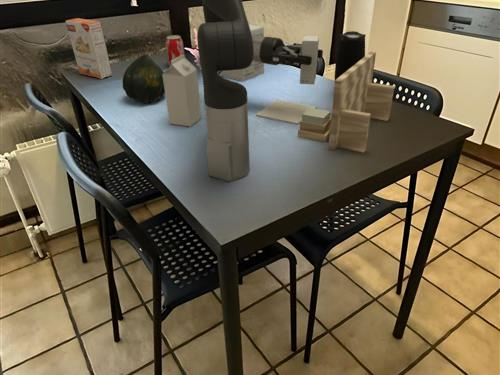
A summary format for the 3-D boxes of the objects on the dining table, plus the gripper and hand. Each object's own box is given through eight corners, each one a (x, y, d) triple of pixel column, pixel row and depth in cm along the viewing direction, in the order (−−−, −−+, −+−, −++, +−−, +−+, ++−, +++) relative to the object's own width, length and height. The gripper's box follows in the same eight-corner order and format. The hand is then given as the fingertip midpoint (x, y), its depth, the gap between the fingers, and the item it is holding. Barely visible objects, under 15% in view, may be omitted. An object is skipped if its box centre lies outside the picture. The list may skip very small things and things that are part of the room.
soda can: (178, 70, 164) (174, 39, 158) (165, 67, 167) (161, 37, 161) (189, 65, 169) (185, 36, 162) (176, 63, 172) (173, 34, 166)
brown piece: (361, 156, 99) (371, 85, 89) (328, 149, 103) (334, 80, 93) (390, 116, 119) (401, 55, 109) (362, 111, 123) (370, 51, 113)
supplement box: (217, 75, 157) (214, 28, 147) (239, 67, 165) (238, 22, 155) (242, 82, 149) (241, 33, 140) (265, 73, 157) (264, 26, 148)
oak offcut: (324, 134, 105) (324, 126, 104) (299, 130, 108) (299, 121, 107) (331, 126, 109) (331, 118, 108) (307, 122, 112) (307, 114, 111)
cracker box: (78, 74, 162) (64, 20, 151) (91, 71, 166) (78, 17, 155) (100, 80, 156) (87, 23, 144) (113, 76, 160) (101, 20, 148)
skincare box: (314, 85, 112) (317, 41, 106) (299, 84, 113) (301, 40, 106) (316, 78, 117) (319, 35, 111) (301, 77, 118) (304, 35, 111)
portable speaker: (340, 88, 141) (346, 29, 130) (364, 93, 135) (373, 33, 125) (327, 94, 135) (332, 34, 125) (352, 101, 130) (360, 38, 119)
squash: (118, 94, 125) (143, 53, 123) (112, 83, 137) (134, 45, 135) (156, 116, 134) (181, 79, 131) (147, 104, 146) (169, 69, 143)
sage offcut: (323, 125, 104) (323, 118, 103) (302, 121, 107) (302, 114, 106) (329, 118, 108) (330, 111, 107) (309, 114, 111) (309, 107, 109)
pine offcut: (325, 144, 106) (325, 135, 105) (297, 138, 110) (298, 130, 108) (333, 135, 110) (333, 127, 109) (306, 130, 114) (306, 121, 113)
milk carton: (169, 124, 119) (159, 59, 108) (181, 115, 124) (173, 52, 114) (190, 127, 117) (182, 61, 106) (201, 118, 122) (195, 54, 112)
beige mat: (297, 124, 116) (297, 123, 116) (256, 115, 122) (256, 114, 122) (316, 108, 126) (316, 106, 125) (277, 100, 132) (277, 99, 132)
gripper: (252, 42, 111) (306, 49, 103) (276, 31, 121) (328, 37, 113) (252, 69, 115) (305, 78, 107) (276, 56, 125) (325, 64, 117)
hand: (316, 57), depth 110 cm, fingers closed on skincare box, 7 cm apart
